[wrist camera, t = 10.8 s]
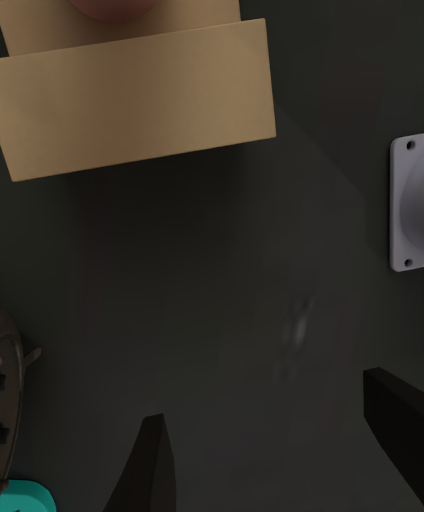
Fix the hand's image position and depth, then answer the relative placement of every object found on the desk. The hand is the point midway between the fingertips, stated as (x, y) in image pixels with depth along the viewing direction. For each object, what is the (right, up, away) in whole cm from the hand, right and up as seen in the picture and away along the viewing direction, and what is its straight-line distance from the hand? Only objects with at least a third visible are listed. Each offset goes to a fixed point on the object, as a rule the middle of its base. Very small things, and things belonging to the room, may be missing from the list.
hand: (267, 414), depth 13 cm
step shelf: (-6, +16, +5) cm, 18 cm away
